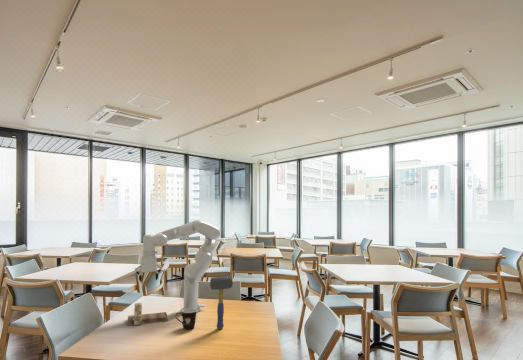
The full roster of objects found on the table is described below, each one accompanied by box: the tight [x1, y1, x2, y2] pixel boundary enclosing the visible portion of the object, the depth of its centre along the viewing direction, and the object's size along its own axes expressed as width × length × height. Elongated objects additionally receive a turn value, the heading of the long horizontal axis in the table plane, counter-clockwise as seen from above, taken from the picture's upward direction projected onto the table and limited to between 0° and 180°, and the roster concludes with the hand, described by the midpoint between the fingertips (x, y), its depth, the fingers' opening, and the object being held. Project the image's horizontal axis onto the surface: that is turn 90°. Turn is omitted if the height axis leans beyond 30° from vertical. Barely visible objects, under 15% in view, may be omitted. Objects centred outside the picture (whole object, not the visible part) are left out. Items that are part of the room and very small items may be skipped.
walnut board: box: [127, 311, 169, 326], centre depth 204 cm, size 23×10×3 cm, turn 112°
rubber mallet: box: [209, 275, 234, 330], centre depth 193 cm, size 12×8×30 cm, turn 112°
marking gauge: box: [133, 302, 143, 326], centre depth 201 cm, size 4×14×10 cm, turn 22°
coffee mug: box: [175, 308, 198, 331], centre depth 192 cm, size 12×9×10 cm
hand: (148, 280), depth 213 cm, fingers open, 9 cm apart
